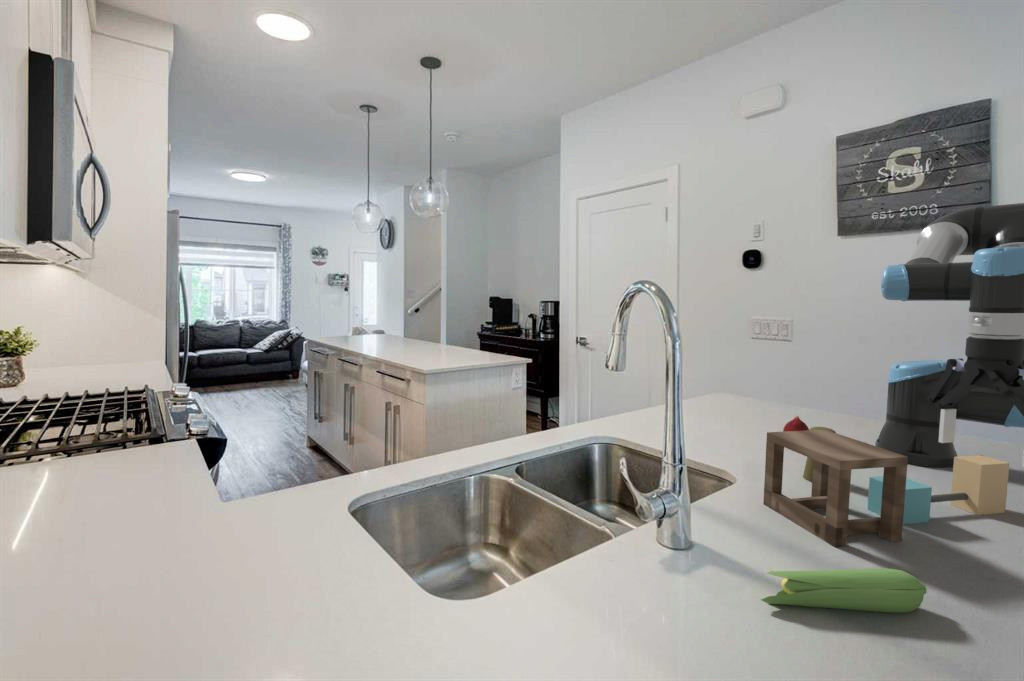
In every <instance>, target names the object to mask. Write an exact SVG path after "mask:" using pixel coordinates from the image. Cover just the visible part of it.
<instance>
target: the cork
mask: <svg viewBox="0 0 1024 681" xmlns="http://www.w3.org/2000/svg"><path fill="white" fill-rule="evenodd" d="M809 430H828V431H831V432H834V433H837V432H836V430H834V429H832V428H829V427H827V426H812V427H811V428H809ZM812 476H813V459H811V458H809V457H807V456H806V460H805V465H804V469H803V474H802V478H803V479H804V480H806V481H808V482H810V483H812Z"/></svg>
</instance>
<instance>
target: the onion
mask: <svg viewBox="0 0 1024 681" xmlns="http://www.w3.org/2000/svg"><path fill="white" fill-rule="evenodd" d="M805 430H810V428H809V426H808V425H807V424H806V423H805V422H804V421H803V420H801V419H800V416H799V415H795V416H794V417H793V419H791V420H789V421H788V422H786V424H785V425H784V427H783V431H782V432H785V431H805Z"/></svg>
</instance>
